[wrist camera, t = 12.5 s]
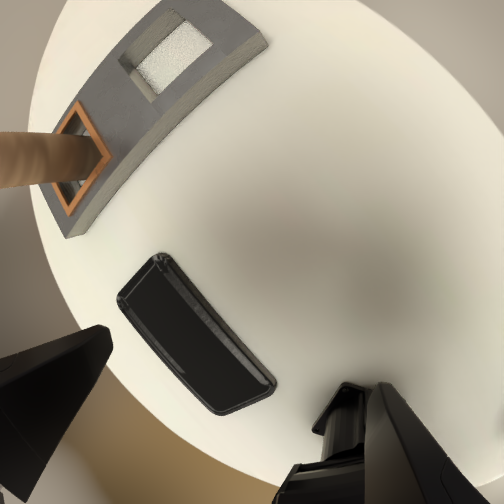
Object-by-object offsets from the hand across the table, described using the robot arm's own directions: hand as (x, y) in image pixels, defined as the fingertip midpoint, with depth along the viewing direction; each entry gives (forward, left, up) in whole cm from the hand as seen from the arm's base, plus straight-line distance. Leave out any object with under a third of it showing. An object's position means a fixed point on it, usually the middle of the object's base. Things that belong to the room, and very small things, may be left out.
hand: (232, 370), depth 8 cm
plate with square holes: (+7, +16, -13) cm, 22 cm away
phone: (-10, +5, -13) cm, 17 cm away
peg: (+3, +20, -13) cm, 23 cm away
